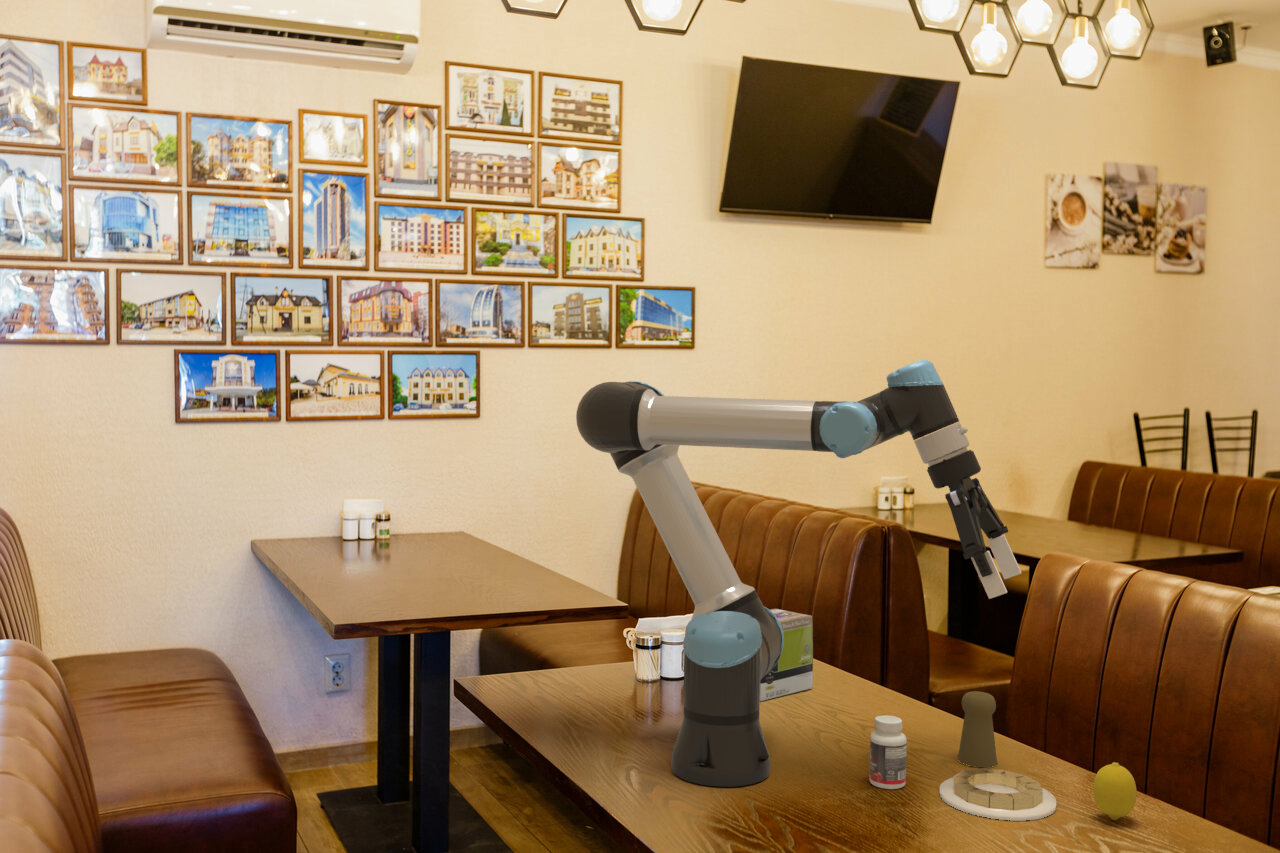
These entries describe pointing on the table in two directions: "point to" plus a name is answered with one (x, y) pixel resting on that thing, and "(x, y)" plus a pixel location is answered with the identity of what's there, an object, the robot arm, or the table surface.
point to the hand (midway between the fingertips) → (1006, 585)
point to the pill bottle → (888, 753)
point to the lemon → (1114, 791)
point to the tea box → (791, 657)
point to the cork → (978, 730)
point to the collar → (1007, 801)
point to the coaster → (1013, 815)
